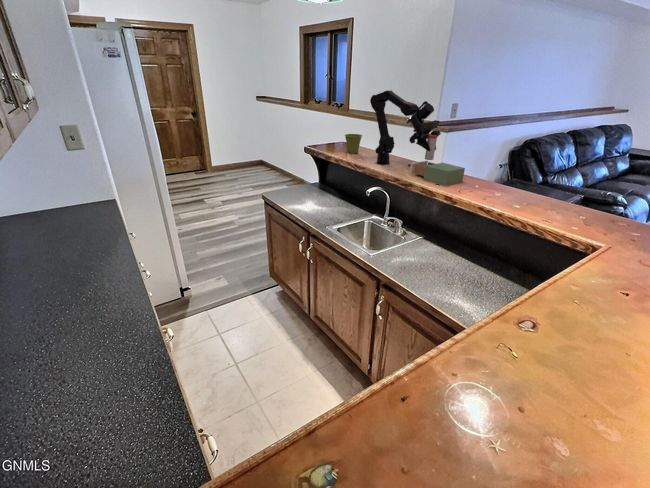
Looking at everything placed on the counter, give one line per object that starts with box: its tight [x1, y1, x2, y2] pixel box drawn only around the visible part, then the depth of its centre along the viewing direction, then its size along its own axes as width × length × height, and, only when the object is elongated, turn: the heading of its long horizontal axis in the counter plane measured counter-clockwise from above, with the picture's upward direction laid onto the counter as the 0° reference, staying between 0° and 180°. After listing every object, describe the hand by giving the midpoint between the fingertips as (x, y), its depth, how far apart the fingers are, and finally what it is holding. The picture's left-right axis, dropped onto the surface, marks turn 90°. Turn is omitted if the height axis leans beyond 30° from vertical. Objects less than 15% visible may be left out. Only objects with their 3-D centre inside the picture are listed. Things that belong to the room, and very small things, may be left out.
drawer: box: [407, 160, 436, 177], centre depth 185 cm, size 17×12×5 cm
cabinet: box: [423, 162, 466, 187], centre depth 176 cm, size 14×14×7 cm
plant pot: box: [344, 133, 363, 154], centre depth 234 cm, size 12×12×11 cm
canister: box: [424, 135, 438, 161], centre depth 179 cm, size 5×5×12 cm
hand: (432, 150), depth 179 cm, fingers closed on canister, 4 cm apart
